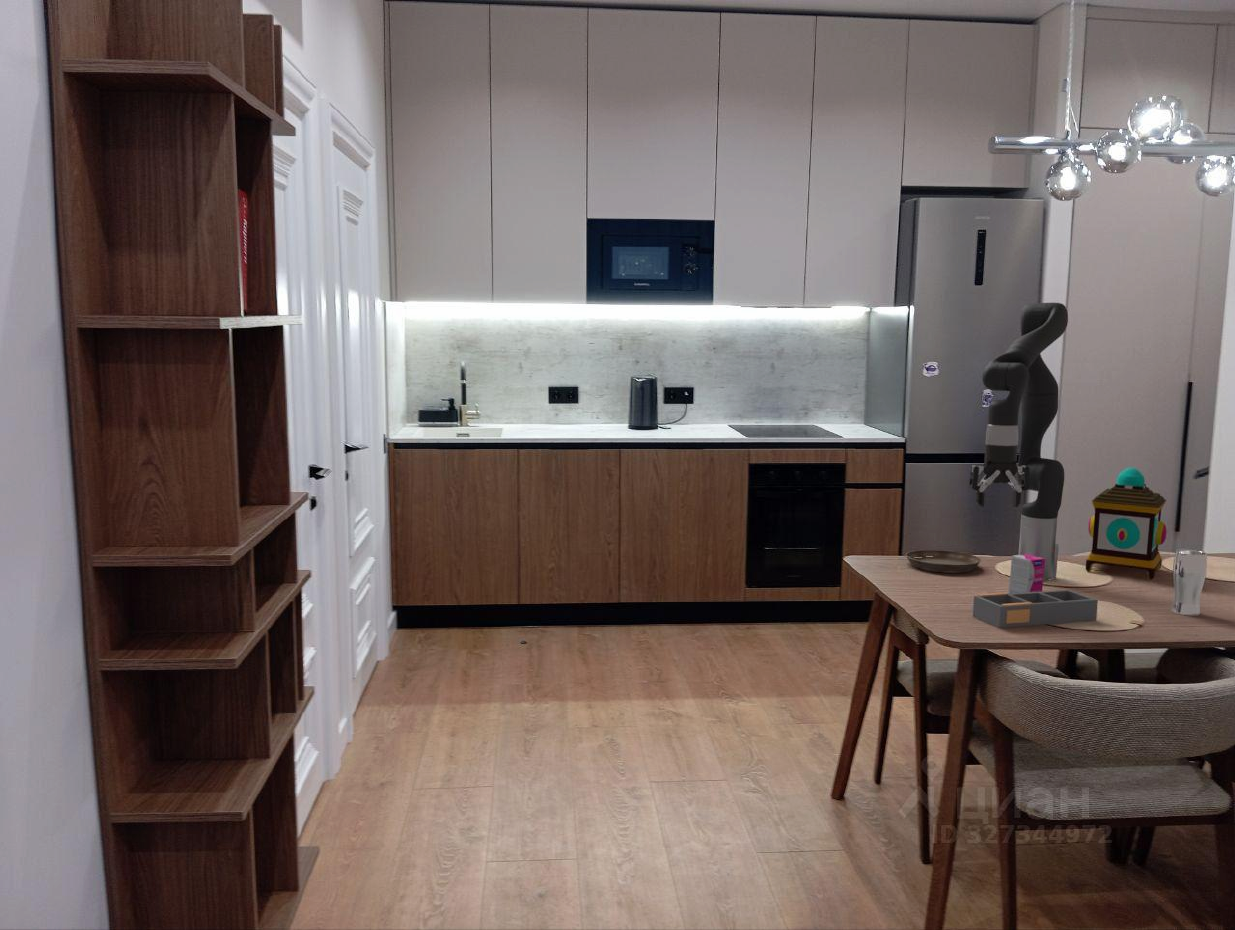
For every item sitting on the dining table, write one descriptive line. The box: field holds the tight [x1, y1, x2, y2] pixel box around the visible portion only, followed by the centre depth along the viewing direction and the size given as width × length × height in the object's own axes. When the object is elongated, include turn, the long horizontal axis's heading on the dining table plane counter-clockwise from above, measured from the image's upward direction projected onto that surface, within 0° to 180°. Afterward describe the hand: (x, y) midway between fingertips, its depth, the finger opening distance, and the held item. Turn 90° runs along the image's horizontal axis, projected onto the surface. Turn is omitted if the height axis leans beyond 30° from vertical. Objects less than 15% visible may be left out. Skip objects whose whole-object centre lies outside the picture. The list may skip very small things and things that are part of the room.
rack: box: [972, 589, 1099, 629], centre depth 230 cm, size 27×10×5 cm, turn 106°
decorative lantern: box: [1085, 467, 1168, 581], centre depth 280 cm, size 20×20×30 cm
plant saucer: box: [905, 549, 982, 574], centre depth 283 cm, size 21×21×3 cm
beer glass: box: [1171, 548, 1208, 617], centre depth 237 cm, size 7×7×15 cm
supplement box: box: [1007, 554, 1045, 594], centre depth 246 cm, size 6×6×12 cm
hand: (997, 506), depth 247 cm, fingers open, 8 cm apart
